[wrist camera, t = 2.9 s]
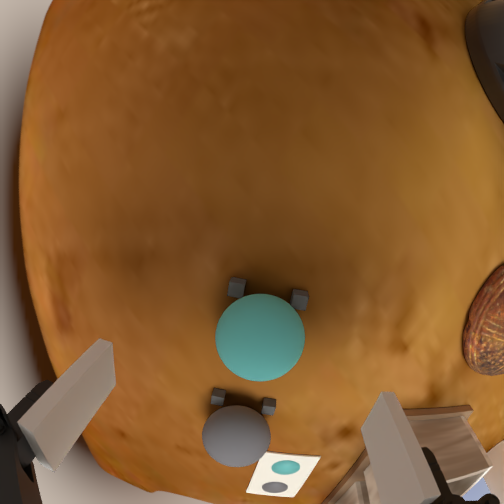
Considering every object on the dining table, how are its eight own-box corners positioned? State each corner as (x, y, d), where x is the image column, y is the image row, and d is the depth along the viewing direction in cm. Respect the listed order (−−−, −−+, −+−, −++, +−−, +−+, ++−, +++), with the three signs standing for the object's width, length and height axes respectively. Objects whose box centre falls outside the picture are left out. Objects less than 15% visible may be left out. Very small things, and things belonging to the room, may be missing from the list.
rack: (390, 409, 21) (418, 483, 13) (469, 404, 21) (504, 458, 12) (318, 506, 27) (320, 558, 18) (387, 502, 26) (397, 547, 17)
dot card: (262, 450, 24) (262, 452, 23) (320, 455, 23) (320, 458, 23) (246, 491, 26) (245, 493, 26) (293, 496, 26) (293, 497, 26)
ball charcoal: (212, 386, 22) (197, 433, 17) (278, 398, 22) (276, 447, 16) (207, 426, 23) (193, 470, 18) (264, 437, 23) (260, 482, 18)
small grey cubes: (231, 276, 20) (229, 281, 19) (307, 291, 19) (309, 297, 18) (208, 425, 23) (206, 433, 22) (263, 436, 23) (262, 443, 22)
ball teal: (230, 274, 20) (212, 307, 14) (310, 289, 19) (320, 328, 14) (219, 342, 21) (202, 388, 16) (291, 356, 21) (293, 405, 15)
